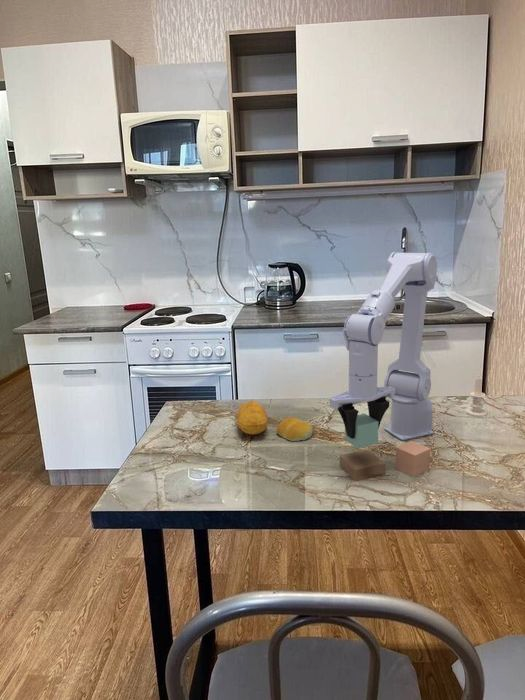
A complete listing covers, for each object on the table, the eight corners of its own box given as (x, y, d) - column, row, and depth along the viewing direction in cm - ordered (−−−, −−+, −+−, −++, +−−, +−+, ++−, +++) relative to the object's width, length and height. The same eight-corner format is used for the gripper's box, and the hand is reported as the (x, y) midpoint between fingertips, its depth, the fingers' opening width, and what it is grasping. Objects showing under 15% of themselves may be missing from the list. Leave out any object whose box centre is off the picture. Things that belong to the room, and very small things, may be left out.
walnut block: (367, 461, 116) (368, 449, 116) (384, 476, 110) (385, 463, 109) (339, 467, 114) (339, 455, 113) (355, 482, 108) (355, 469, 107)
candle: (463, 409, 143) (466, 373, 140) (483, 409, 142) (486, 373, 139) (468, 416, 138) (471, 379, 135) (489, 417, 137) (492, 379, 134)
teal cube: (364, 434, 114) (364, 413, 113) (378, 443, 109) (378, 421, 108) (344, 439, 112) (344, 417, 111) (357, 448, 108) (357, 425, 106)
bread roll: (296, 445, 125) (296, 430, 124) (272, 434, 132) (271, 420, 131) (320, 435, 131) (320, 420, 129) (295, 425, 137) (295, 410, 136)
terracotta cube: (410, 461, 115) (411, 440, 114) (429, 469, 111) (430, 448, 110) (395, 468, 112) (395, 447, 111) (414, 477, 109) (415, 455, 107)
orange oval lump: (264, 419, 141) (263, 395, 140) (270, 440, 128) (269, 415, 126) (235, 421, 141) (234, 397, 139) (239, 443, 127) (238, 417, 126)
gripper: (381, 362, 112) (380, 421, 116) (322, 372, 107) (322, 433, 111) (401, 371, 106) (399, 433, 110) (339, 382, 101) (339, 446, 105)
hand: (362, 434), depth 110 cm, fingers closed on teal cube, 5 cm apart
